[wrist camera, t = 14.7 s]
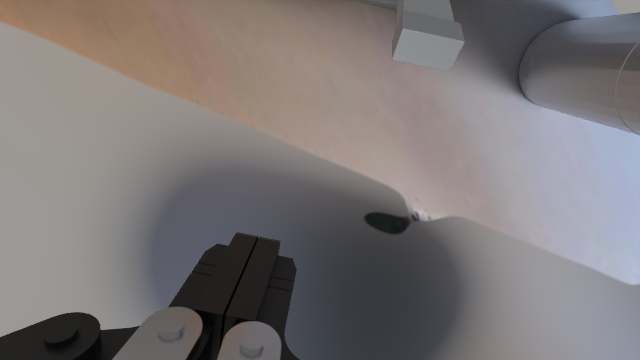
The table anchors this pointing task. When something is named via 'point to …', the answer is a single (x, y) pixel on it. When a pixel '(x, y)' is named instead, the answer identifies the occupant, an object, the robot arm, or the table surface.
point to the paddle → (427, 34)
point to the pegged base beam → (381, 3)
